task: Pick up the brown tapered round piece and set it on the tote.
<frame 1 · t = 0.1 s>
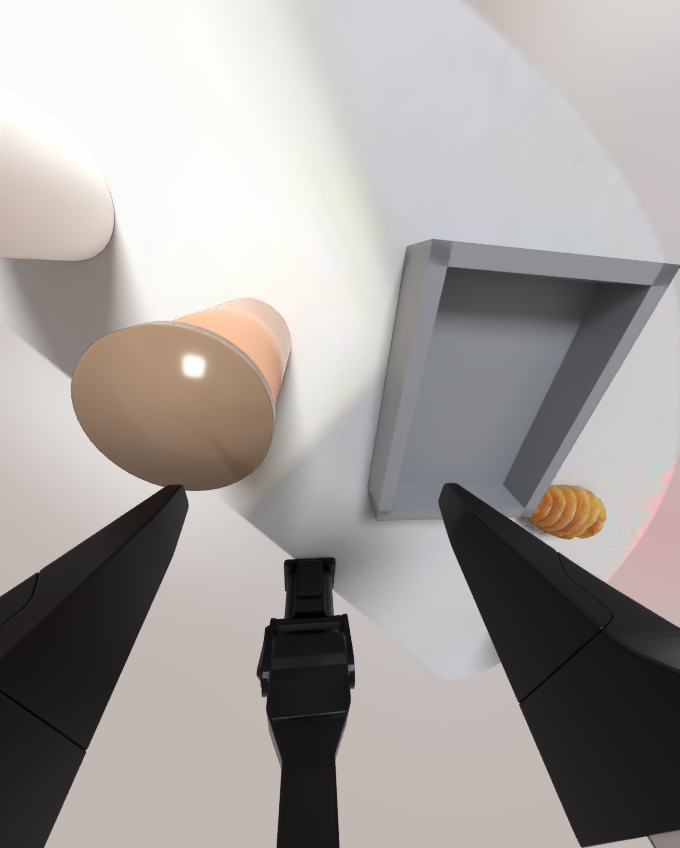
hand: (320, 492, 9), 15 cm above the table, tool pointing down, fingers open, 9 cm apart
cylindrical container: (47, 189, 16), on the table
pastry: (550, 502, 34), on the table
brown tapered round piece: (251, 340, 21), on the table
tote: (467, 396, 25), on the table
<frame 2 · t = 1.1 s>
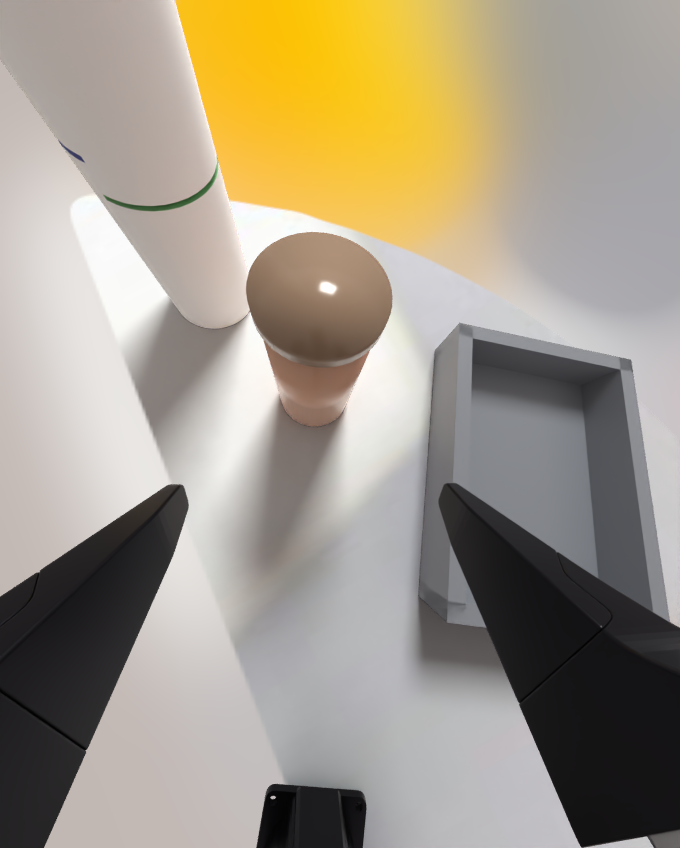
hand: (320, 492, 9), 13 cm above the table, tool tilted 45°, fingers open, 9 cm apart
cylindrical container: (216, 297, 26), on the table
brown tapered round piece: (314, 394, 24), on the table
tote: (511, 472, 25), on the table
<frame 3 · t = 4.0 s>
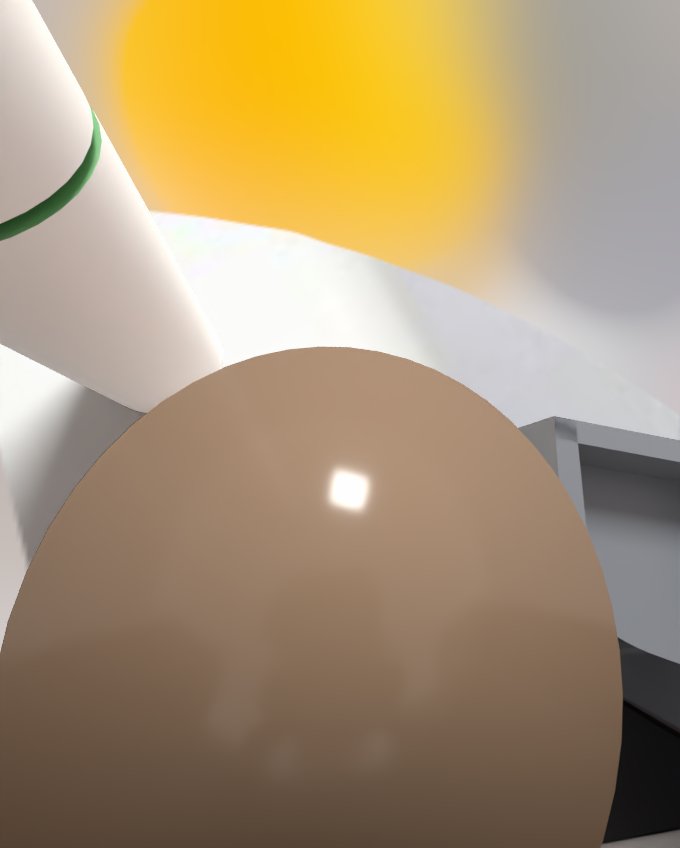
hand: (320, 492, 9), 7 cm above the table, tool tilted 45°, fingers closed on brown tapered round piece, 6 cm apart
cylindrical container: (165, 361, 17), on the table
brown tapered round piece: (315, 519, 15), on the table, touching gripper
tote: (627, 642, 15), on the table
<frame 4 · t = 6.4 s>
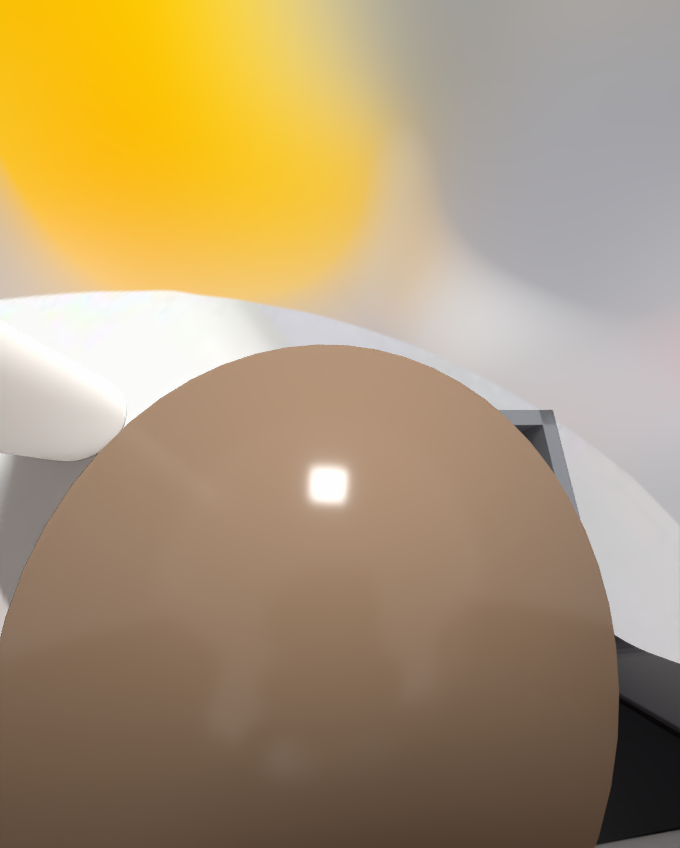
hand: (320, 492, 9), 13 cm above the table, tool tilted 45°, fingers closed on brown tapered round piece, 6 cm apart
cylindrical container: (79, 417, 22), on the table
brown tapered round piece: (314, 519, 15), point 7 cm above the table, touching gripper
tote: (450, 553, 22), on the table
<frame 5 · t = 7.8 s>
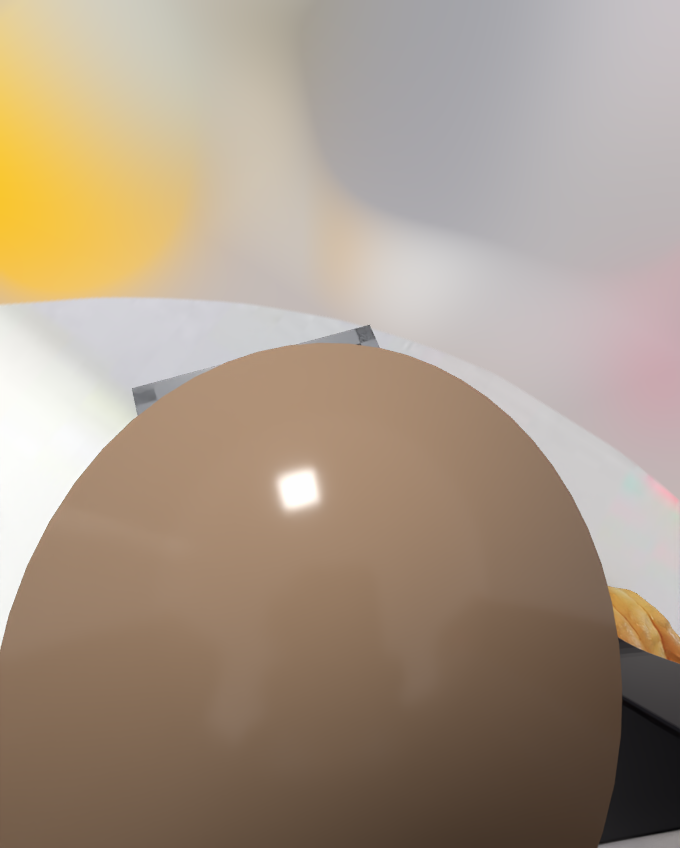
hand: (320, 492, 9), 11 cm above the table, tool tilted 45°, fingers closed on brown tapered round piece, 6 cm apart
pastry: (582, 635, 20), on the table
brown tapered round piece: (315, 518, 15), point 5 cm above the table, touching gripper
tote: (314, 511, 20), on the table
when the fingers open (9 cm above the table, at t = 8.8 s): brown tapered round piece drops 1 cm, resting on tote.
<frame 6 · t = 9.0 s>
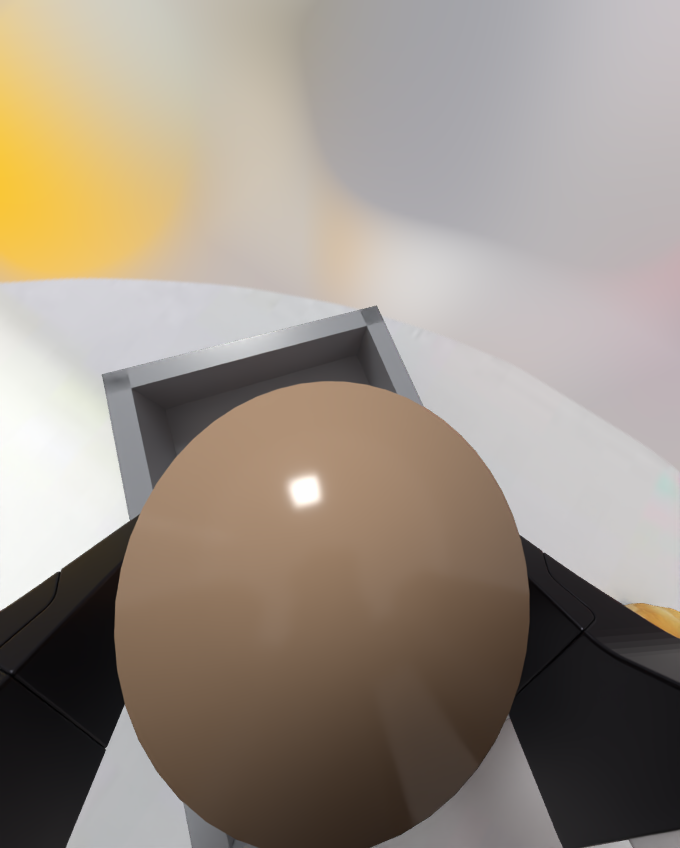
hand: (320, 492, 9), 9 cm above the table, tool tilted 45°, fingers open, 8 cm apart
pastry: (621, 661, 18), on the table
brown tapered round piece: (313, 519, 17), point 1 cm above the table, touching tote
tote: (314, 516, 18), on the table
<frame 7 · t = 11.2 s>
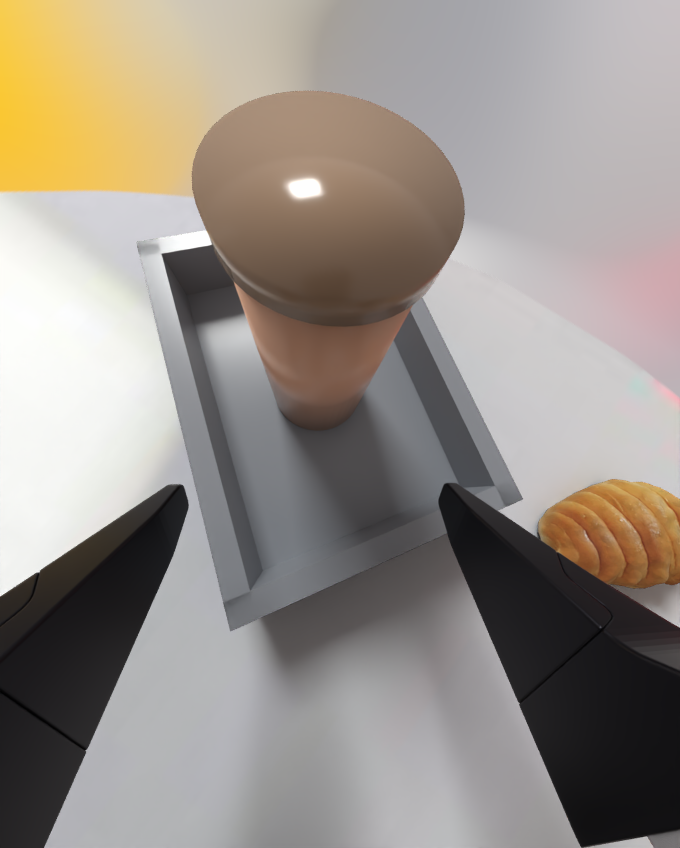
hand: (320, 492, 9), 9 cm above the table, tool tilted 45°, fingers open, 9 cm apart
pastry: (595, 532, 20), on the table
brown tapered round piece: (317, 389, 19), point 1 cm above the table, touching tote
tote: (317, 393, 20), on the table
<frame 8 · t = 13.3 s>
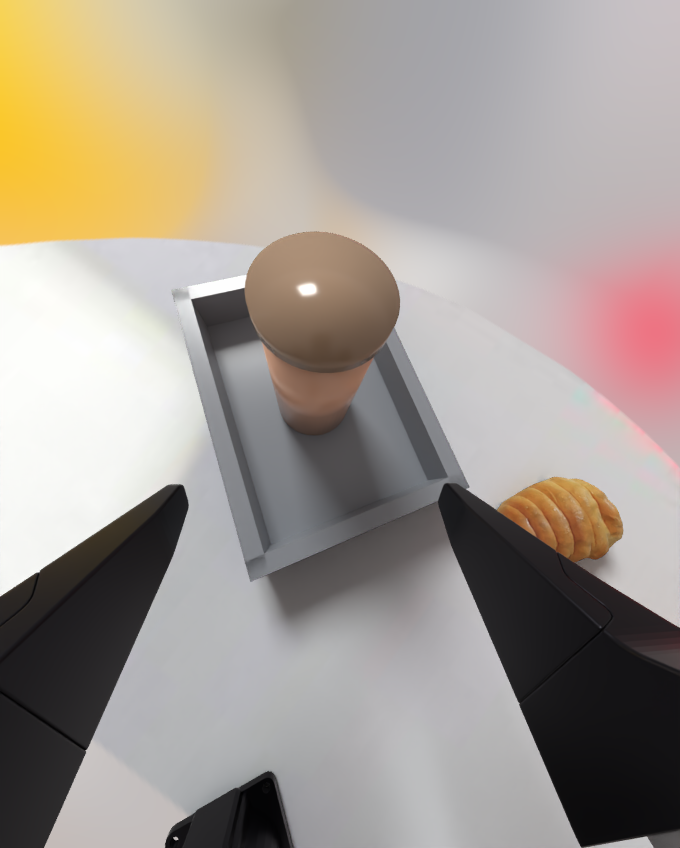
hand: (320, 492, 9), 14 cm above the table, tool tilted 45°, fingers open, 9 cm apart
pastry: (542, 520, 25), on the table
brown tapered round piece: (313, 402, 23), point 1 cm above the table, touching tote
tote: (313, 405, 24), on the table
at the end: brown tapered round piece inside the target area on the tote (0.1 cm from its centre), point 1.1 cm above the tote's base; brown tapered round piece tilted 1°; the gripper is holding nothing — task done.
